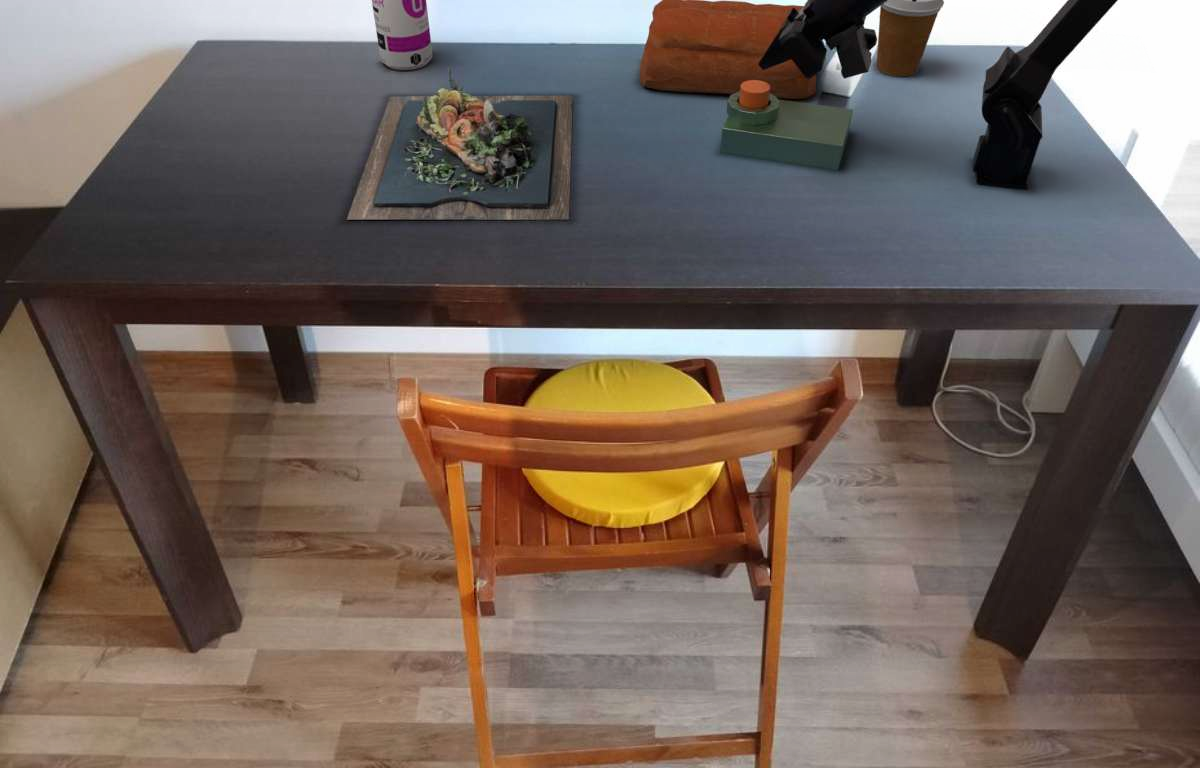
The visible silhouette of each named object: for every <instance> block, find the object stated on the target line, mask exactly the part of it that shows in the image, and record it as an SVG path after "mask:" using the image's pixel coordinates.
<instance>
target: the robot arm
mask: <svg viewBox="0 0 1200 768" xmlns="http://www.w3.org/2000/svg"><path fill="white" fill-rule="evenodd" d="M886 1H888V0H807V1H806V2H804V5H803V6H804V7H803V8H802V9H801V10H800V11H799V12H798V11H797V10H796V9H795V8H792V9H791V11H790V12H789V14H788V16H787V17H786V19H785V21H784V22H783V24H782V26H781V27H780V29H779V31H778V32H777V34H776V35H775V37H774V39H773V40H772V42H771V44H770V45H769V47H768V48H767V50H766V52H765V53H764V55H763V57H762V58H761V60H760V62H759V64H758V65H759V66H760V68H761V69H762V70H765V69H768V68H771V67H773V66H776V65H778V64H781V63H784V62H786V61H789V60H793V62H794V63H795V64H796V66H797V67H798V68H799V69H800V71H801V72H802V73H803V75H804V76H805V77H806V78H808V79H810V78H812V77H813V76H814V75H816V76H817V74H819V73H820V72H822V70H823V68H824V65H825V62H826V59H827V53H828V49H829V50H830V51H832V50H834V49H835V50H836V54H837V57H838V60H839V65H840V69H841V70H840V73H841V76H842V79H843V80H845V79H848V78H853V77H855V76H858V75H859V76H860V75H862V74H866V73H868V72H869V71H870V68H871V64H872V56H873V53H872V51H871V50H872V49H874V47H876V45H877V44H878V35H877V32H876V30H875V29H872V28H868V27H867V28H865V23H866V18H867V16H869V15H870V14H872V13H873V12H874V11H875V10H877V9H878V8H880V6H881V5H882V4H884V3H885V2H886ZM912 1H913V2H915V1H917V0H912ZM1118 1H1119V0H1067V1H1066V2H1065V3H1064V4H1063V5H1062V7H1061V8H1060V9H1059V10H1058V11H1057V12H1056V13H1055V15H1054V16H1053V17H1052V18H1051V19H1050V20H1049V21H1048V23H1047V24H1046V25H1045V26H1044V27H1043V29H1042V30H1040V32H1039V33H1038V35H1037V36H1036V37H1035V38H1034V39H1033V40H1032V42H1030V43H1029V44H1028V45H1026V46H1025V47H1023V48H1022V49H1020V50H1018V51H1016V52H1015V51H1014V50H1013V49H1012V48H1011V47H1010V46H1006V47H1005V49H1004V50H1003V52H1002V54H1001V55H1000V57H999V58H998V60H997V61H996V62H995V63H994V64H993V65H992V66H990V67H989V68H987V69H986V70H985V77H984V78H985V79H984V83H983V87H982V97H981V114H982V118H983V119H984V121H985V123H987V126H986V129H985V133H984V134H981V135H980V136H978V137H979V138H978V141H977V144H976V147H975V152H974V155H973V159H972V163H971V164H972V171H973V173H974V174H975V182H976V183H977V184H982V185H986V186H987V185H989V186H997V187H1004V188H1005V187H1006V188H1014V189H1022V190H1028V189H1029V187H1030V180H1029V176H1030V174H1031V170H1032V167H1033V165H1034V161H1035V158H1036V155H1037V152H1038V149H1039V145H1040V142H1041V140H1042V139H1043V110H1042V109H1043V108H1042V105H1041V104H1040V100H1041V99H1042V97H1043V95H1044V93H1045V91H1046V89H1047V87H1048V85H1049V83H1050V81H1051V79H1052V77H1053V76H1054V74H1055V72H1056V71H1057V69H1058V68H1059V66H1060V65H1061V64H1062V63H1063V62H1064V61H1065V60H1066V59H1067V58H1068V57H1069V55H1070V54H1071V53H1072V52H1073V51H1074V50H1075V49H1076V48H1077V46H1078V45H1079V44H1080V43H1082V41H1083V40H1084V39H1085V38H1086V37H1087V35H1088V34H1089V33H1090V32H1091V31H1092V30H1093V29H1094V27H1096V25H1097V24H1099V22H1100V21H1101V20H1102V18H1103V17H1104V16H1106V14H1107V13H1108V12H1109V11H1110V10H1111V9H1112V8H1113V7H1114V6H1115V4H1116V3H1117V2H1118ZM824 41H825V42H824ZM825 45H826V46H827V47H828V49H827V48H826V46H825Z"/></svg>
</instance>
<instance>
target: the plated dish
mask: <svg viewBox="0 0 1200 768" xmlns="http://www.w3.org/2000/svg"><path fill="white" fill-rule="evenodd" d="M447 71H448V73H447V76H448V79H447V81H448V82H449V85H450V88H451V90H448V89H446V88H443V87H442V88H440V89H439V90H438V91H437V94H438V95H437V94H434V95H431V96H430V95H426V93H424V94H423V95H421V96H419V95H416V96H415V95H414V96H411V95H410V96H403V95H402V96H389V98H388V101H387V104H386V108H385V110H384V113H383V116H382V118H381V121H380V125H379V126H378V129H377V133H376V136H375V139H374V142H373V144H372V146H371V150H370V152H369V155H368V158H367V160H366V163H365V166H364V168H363V169H364V170H363V172H362V175H361V177H360V180H359V184H358V186H357V189H356V192H355V195H354V197H353V200H352V203H351V206H350V209H349V212H348V215H347V217H346V220H347V221H350V220H351V221H353V220H355V221H356V220H357V221H359V220H360V221H363V220H364V221H365V220H368V221H369V220H376V221H377V220H469V221H473V220H475V221H477V220H479V221H480V220H481V221H482V220H483V221H486V220H490V221H491V220H492V221H493V220H495V221H496V220H497V221H501V220H502V221H503V220H504V221H505V220H509V221H510V220H514V221H515V220H517V221H529V220H532V221H545V220H546V221H549V220H550V221H551V220H553V221H554V220H555V221H557V220H558V221H559V220H561V221H562V220H563V221H564V220H566V221H567V220H568V221H569V220H570V197H571V196H570V195H571V167H572V165H571V164H572V137H573V135H572V134H573V109H574V107H573V105H574V95H470V94H469V93H465V92H463V88H464V87H465V85H464V84H462V85H461V86H462V87H460V88H458V87H459V84H460V83H459V81H455V79H454V78H453V77H452V69H451V66H448V69H447ZM514 154H516V155H517V157H520V158H517V157H515V156H514Z"/></svg>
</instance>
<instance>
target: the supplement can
mask: <svg viewBox="0 0 1200 768" xmlns="http://www.w3.org/2000/svg"><path fill="white" fill-rule="evenodd" d="M427 3H428V2H427V0H371V7H372V12H373V19H374V26H375V31H376V32H375V33H376V38H377V44H378V45H377V46H378V51H379V58H380V61H381V62H382V64H384V65H386V67H388V68H390V69H392V70H397V71H410V70H416V69H420V68H423V67H425V66H426V65H428V63H429V62H430V60H432V58H433V48H432V47H433V46H432V39H431V37H432V36H431V32H430V31H431V30H430V23H429V21H430V20H429V12H428V4H427Z"/></svg>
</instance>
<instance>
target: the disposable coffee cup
mask: <svg viewBox="0 0 1200 768" xmlns="http://www.w3.org/2000/svg"><path fill="white" fill-rule="evenodd" d="M944 4H945V1H944V0H917V1H915V2H913V1H912V0H888V1H886V2H885V3H884V4H882V5H881V6H880V7H879V8H880V9H879V21H878V23H879V24H878V35H877V51H876V52H877V54H876V68H877V70H878V71H879V72H880V73H883V74H885V75H888V76H891V77H910V76H914V75H915V74H917V72H918V70H919V68H920V64H921V61H922V58H923V56H924V53H925V50H926V49H927V48H926V47H927V45H928V42H929V39H930V36H931V33H932V31H933V28H934V25H935V23H936V20H937V17H938V14H939V12H940V11H941V9H942V8H943V7H944Z"/></svg>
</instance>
